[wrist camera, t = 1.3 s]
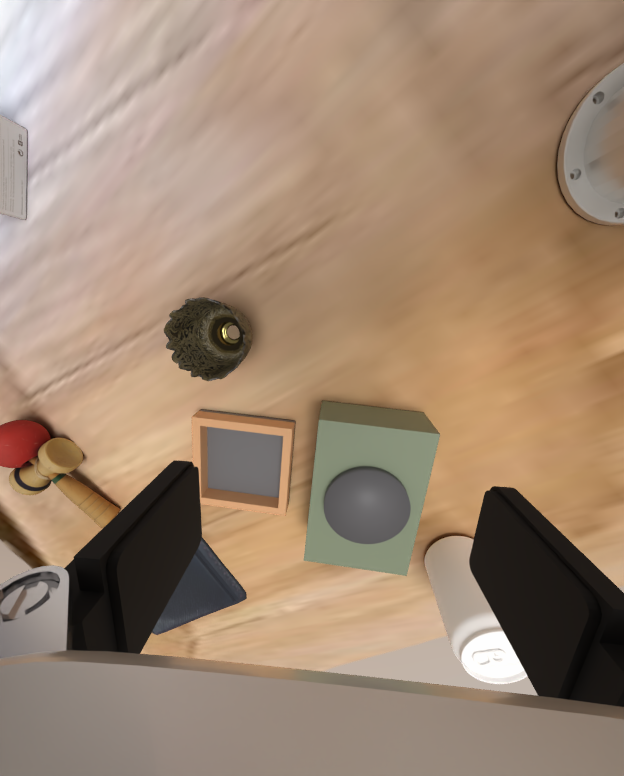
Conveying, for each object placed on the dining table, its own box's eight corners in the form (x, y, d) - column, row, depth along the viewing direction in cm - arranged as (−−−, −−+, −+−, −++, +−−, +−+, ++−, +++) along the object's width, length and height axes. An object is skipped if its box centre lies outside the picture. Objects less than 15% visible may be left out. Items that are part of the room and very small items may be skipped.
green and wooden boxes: (201, 386, 36) (169, 405, 30) (423, 412, 35) (443, 438, 28) (202, 508, 42) (176, 548, 35) (396, 536, 40) (408, 583, 33)
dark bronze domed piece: (228, 375, 36) (197, 395, 28) (190, 322, 34) (147, 328, 27) (277, 342, 34) (260, 353, 26) (240, 285, 33) (209, 280, 25)
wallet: (149, 644, 49) (90, 577, 46) (156, 631, 50) (99, 566, 47) (249, 608, 44) (191, 532, 41) (253, 596, 46) (197, 522, 43)
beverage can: (493, 570, 40) (554, 678, 29) (434, 586, 42) (470, 694, 30) (474, 524, 38) (532, 619, 27) (414, 542, 40) (444, 639, 29)
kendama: (143, 489, 43) (34, 400, 38) (111, 527, 38) (-22, 429, 32) (116, 506, 46) (11, 426, 41) (83, 543, 41) (-43, 457, 35)
